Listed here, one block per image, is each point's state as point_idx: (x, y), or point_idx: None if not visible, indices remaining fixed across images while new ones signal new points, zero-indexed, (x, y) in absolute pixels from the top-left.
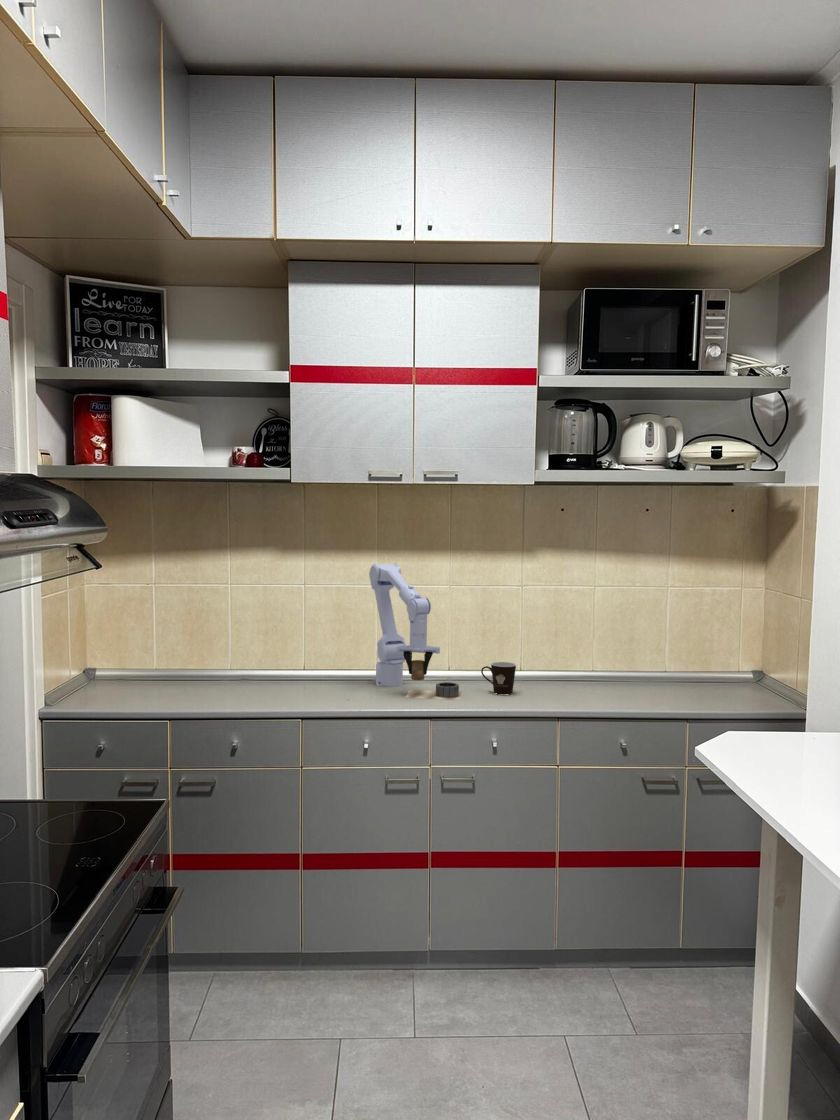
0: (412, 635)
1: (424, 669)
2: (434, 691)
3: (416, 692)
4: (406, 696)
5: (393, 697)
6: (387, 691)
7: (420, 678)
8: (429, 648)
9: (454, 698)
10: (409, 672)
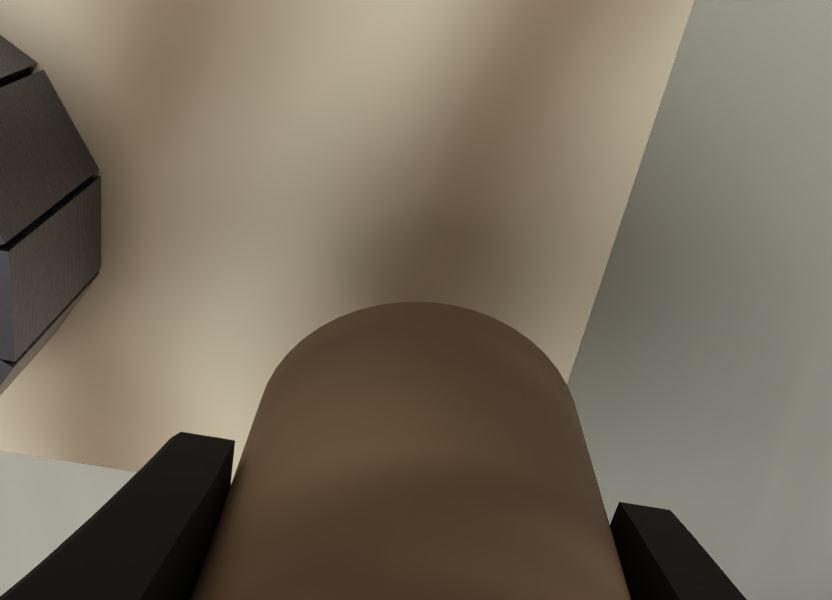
0: None
1: (167, 531)
2: (144, 423)
3: None
4: (648, 105)
5: (819, 245)
6: (801, 563)
7: (354, 336)
8: None
9: None
10: (686, 537)
